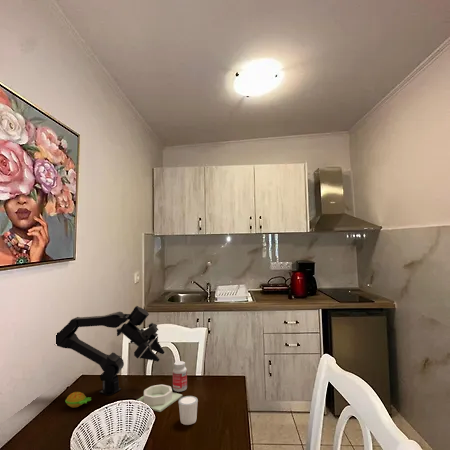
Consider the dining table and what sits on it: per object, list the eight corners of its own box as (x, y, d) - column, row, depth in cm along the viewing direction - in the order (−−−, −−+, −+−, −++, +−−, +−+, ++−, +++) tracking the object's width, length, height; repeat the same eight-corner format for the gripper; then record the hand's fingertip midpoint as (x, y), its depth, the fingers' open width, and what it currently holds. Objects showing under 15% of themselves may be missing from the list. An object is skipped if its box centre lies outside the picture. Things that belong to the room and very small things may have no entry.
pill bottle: (183, 392, 134) (182, 366, 135) (170, 391, 136) (169, 364, 136) (189, 386, 140) (188, 360, 141) (176, 385, 142) (176, 359, 142)
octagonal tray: (132, 404, 125) (132, 394, 126) (156, 389, 138) (156, 381, 138) (160, 412, 119) (159, 402, 119) (182, 396, 131) (182, 387, 131)
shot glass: (194, 426, 108) (194, 405, 109) (175, 424, 110) (175, 404, 110) (200, 416, 115) (200, 396, 116) (182, 414, 117) (182, 394, 117)
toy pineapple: (73, 401, 129) (74, 387, 129) (94, 403, 126) (94, 390, 127) (61, 409, 122) (61, 395, 123) (82, 412, 120) (82, 398, 120)
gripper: (138, 324, 129) (168, 349, 128) (151, 314, 148) (177, 335, 147) (121, 346, 129) (151, 370, 128) (136, 333, 148) (162, 355, 146)
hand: (161, 356), depth 137 cm, fingers open, 9 cm apart
